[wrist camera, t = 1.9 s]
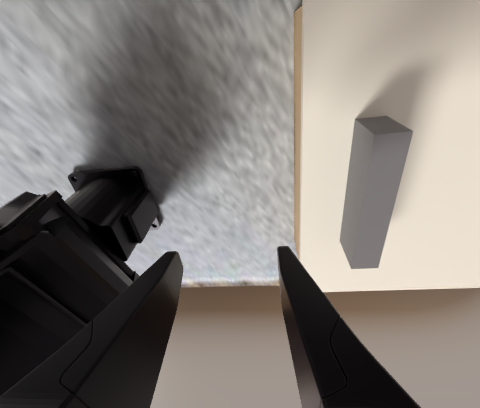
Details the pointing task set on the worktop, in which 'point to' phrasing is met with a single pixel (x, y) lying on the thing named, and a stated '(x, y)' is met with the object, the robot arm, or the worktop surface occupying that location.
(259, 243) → the worktop surface
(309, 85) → the lid
